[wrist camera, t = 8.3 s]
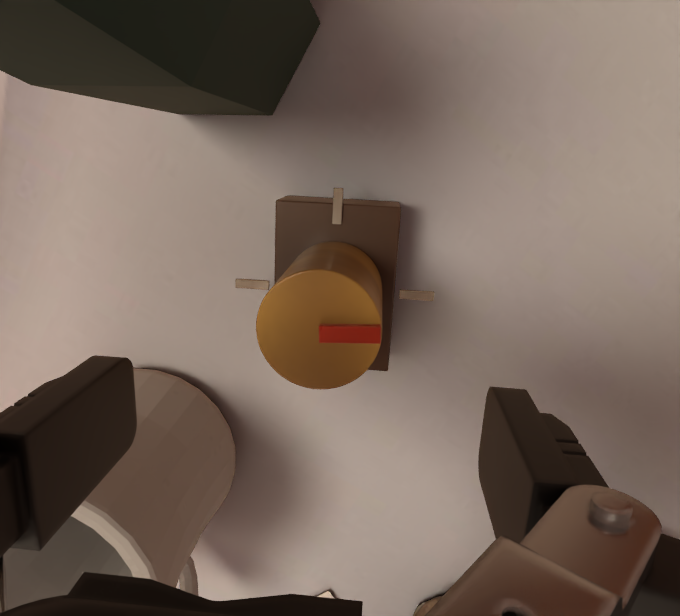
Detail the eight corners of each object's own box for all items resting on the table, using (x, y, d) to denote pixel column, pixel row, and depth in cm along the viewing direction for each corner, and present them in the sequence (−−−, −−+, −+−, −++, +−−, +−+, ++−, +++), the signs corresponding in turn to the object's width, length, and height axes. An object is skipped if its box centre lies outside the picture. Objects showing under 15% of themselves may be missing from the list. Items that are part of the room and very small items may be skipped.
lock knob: (287, 334, 23) (257, 392, 17) (283, 241, 22) (249, 270, 16) (381, 335, 22) (381, 395, 17) (382, 241, 21) (382, 271, 16)
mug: (38, 391, 27) (-147, 519, 18) (198, 339, 26) (89, 448, 16) (140, 583, 30) (28, 781, 21) (289, 546, 29) (242, 740, 19)
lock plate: (250, 179, 24) (235, 182, 21) (437, 189, 23) (444, 194, 21) (250, 352, 26) (235, 374, 23) (420, 365, 25) (424, 389, 23)
